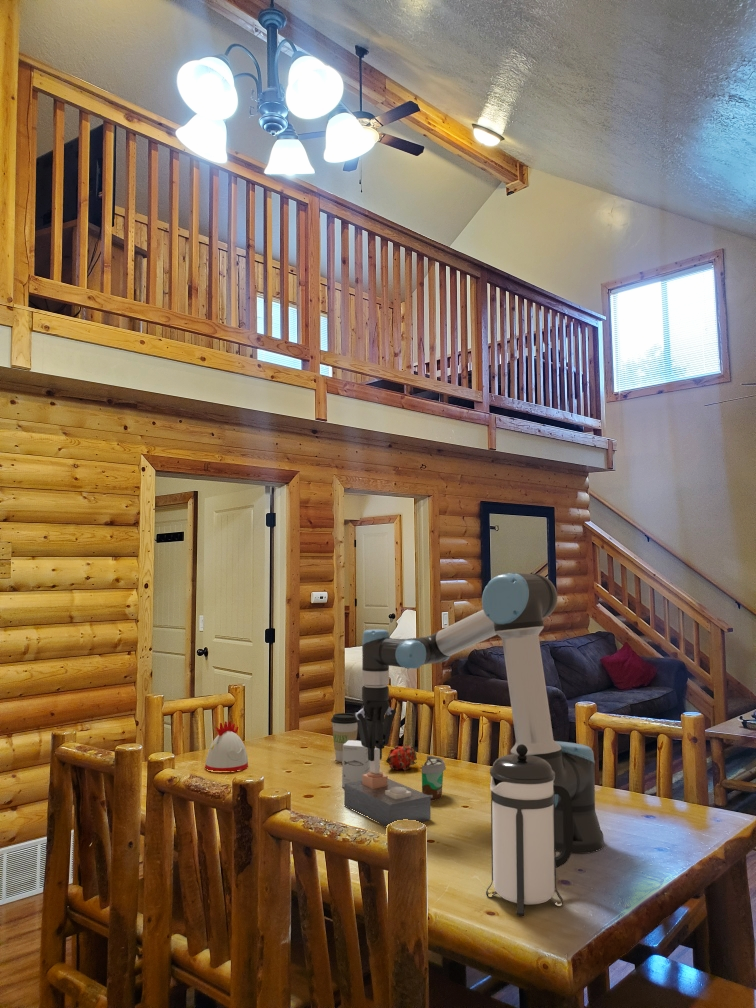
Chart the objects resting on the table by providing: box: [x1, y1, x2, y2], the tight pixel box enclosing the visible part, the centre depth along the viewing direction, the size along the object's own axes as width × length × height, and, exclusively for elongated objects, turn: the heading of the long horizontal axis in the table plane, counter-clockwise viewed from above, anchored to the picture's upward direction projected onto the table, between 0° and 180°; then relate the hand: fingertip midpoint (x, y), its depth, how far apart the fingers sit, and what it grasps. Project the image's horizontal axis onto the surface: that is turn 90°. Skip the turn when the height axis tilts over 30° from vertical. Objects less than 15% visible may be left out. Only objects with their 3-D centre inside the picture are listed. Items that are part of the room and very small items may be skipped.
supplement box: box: [341, 740, 370, 788], centre depth 220 cm, size 7×7×13 cm
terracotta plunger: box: [362, 771, 389, 789], centre depth 199 cm, size 5×5×7 cm
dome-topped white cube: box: [385, 787, 411, 799], centre depth 190 cm, size 5×5×7 cm
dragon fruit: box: [385, 743, 417, 772], centre depth 238 cm, size 8×8×12 cm
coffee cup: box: [330, 712, 359, 763], centre depth 251 cm, size 10×10×15 cm
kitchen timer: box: [204, 720, 249, 771], centre depth 240 cm, size 14×14×15 cm
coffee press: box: [485, 744, 573, 917], centre depth 145 cm, size 17×16×30 cm
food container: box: [421, 755, 446, 802], centre depth 209 cm, size 12×6×10 cm, turn 168°
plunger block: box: [343, 778, 432, 828], centre depth 195 cm, size 22×13×6 cm, turn 34°
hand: (374, 772), depth 200 cm, fingers closed
